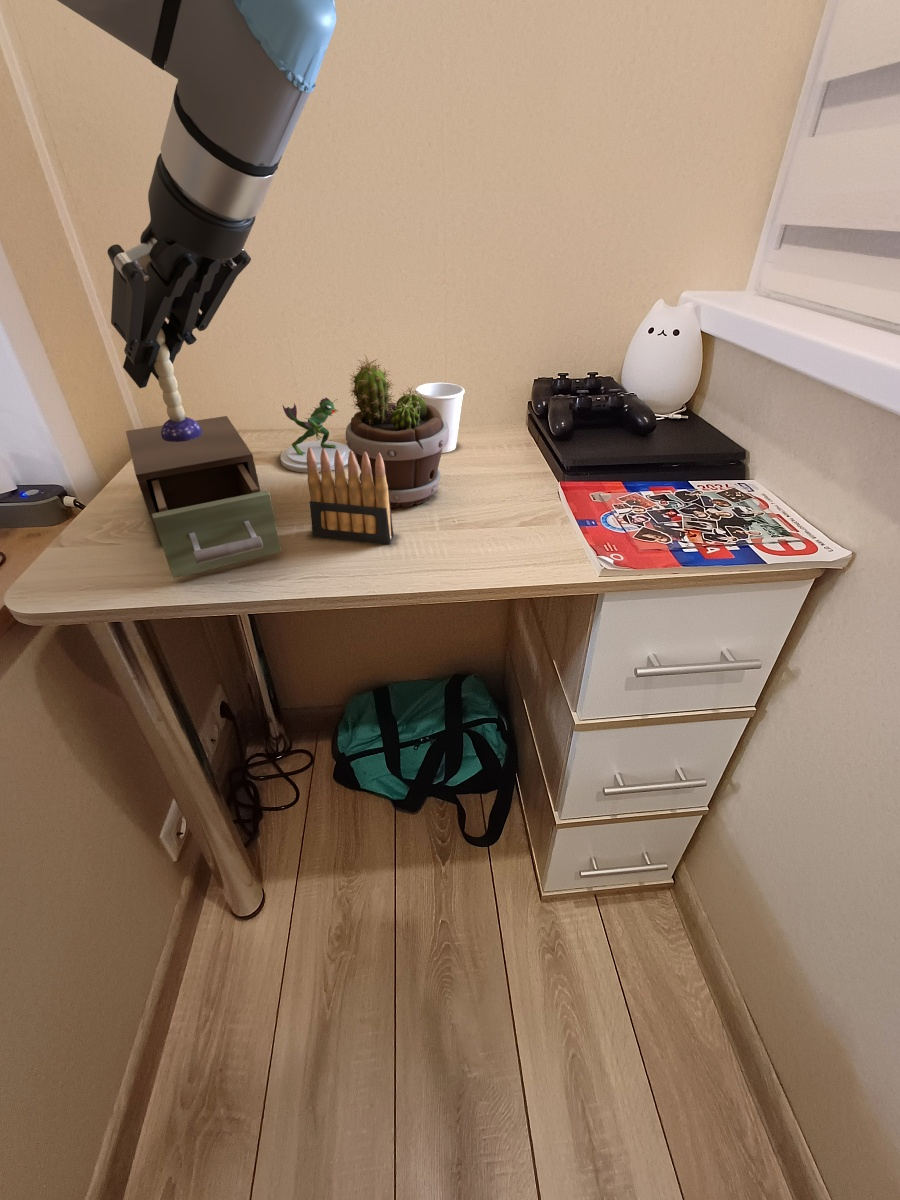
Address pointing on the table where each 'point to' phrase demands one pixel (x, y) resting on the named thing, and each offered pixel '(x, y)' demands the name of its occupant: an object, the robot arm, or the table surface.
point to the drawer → (213, 519)
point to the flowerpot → (397, 437)
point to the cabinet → (186, 455)
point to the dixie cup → (445, 406)
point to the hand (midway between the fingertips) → (144, 374)
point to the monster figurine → (297, 453)
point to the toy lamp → (173, 399)
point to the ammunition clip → (349, 500)
